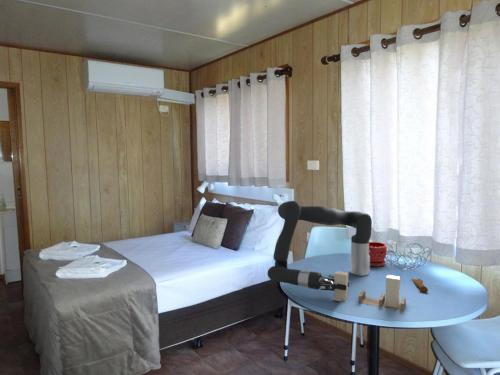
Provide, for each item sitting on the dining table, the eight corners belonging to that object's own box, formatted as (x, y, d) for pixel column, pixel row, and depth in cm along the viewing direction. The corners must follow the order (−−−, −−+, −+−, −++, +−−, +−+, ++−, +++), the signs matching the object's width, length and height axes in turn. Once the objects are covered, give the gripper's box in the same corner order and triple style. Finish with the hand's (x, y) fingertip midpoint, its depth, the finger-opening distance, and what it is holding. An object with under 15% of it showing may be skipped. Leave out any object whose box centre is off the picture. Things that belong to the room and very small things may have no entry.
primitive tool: (410, 280, 184) (410, 273, 184) (421, 280, 183) (421, 274, 183) (419, 293, 166) (419, 286, 165) (432, 294, 164) (432, 287, 164)
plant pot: (369, 259, 219) (370, 240, 218) (390, 264, 210) (390, 244, 209) (358, 264, 211) (358, 244, 210) (379, 269, 201) (379, 248, 200)
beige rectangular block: (336, 297, 160) (337, 270, 159) (347, 299, 157) (348, 272, 156) (334, 300, 156) (334, 273, 155) (345, 302, 154) (346, 275, 153)
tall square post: (386, 302, 152) (387, 274, 151) (399, 304, 150) (400, 276, 149) (385, 305, 149) (386, 277, 148) (398, 308, 146) (399, 279, 145)
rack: (362, 298, 159) (362, 289, 159) (405, 306, 151) (405, 297, 150) (358, 305, 152) (358, 295, 152) (403, 314, 144) (403, 303, 143)
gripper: (304, 276, 157) (343, 282, 148) (315, 267, 169) (351, 272, 161) (304, 292, 157) (343, 300, 149) (314, 282, 170) (351, 289, 161)
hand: (347, 286), depth 155 cm, fingers closed on beige rectangular block, 4 cm apart
